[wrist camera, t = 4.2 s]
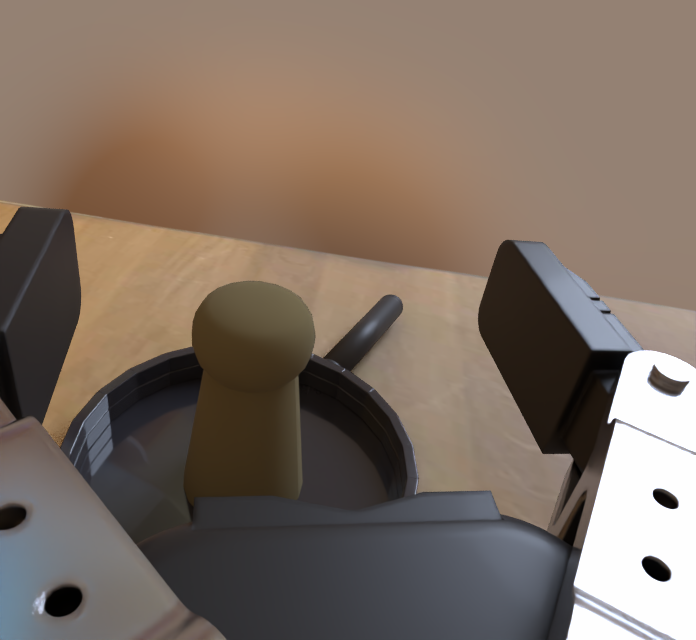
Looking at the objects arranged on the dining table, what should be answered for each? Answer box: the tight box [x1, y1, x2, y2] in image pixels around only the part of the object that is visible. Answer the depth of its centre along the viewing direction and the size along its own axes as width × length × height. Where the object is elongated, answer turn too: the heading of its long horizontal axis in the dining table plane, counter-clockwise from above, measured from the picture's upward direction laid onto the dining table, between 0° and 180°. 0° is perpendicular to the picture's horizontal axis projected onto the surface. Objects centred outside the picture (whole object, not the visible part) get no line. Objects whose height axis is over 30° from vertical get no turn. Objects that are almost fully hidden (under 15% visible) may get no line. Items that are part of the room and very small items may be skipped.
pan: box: [60, 347, 419, 544], centre depth 31 cm, size 17×17×2 cm
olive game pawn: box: [183, 281, 316, 507], centre depth 29 cm, size 6×6×11 cm
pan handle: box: [323, 295, 403, 371], centre depth 41 cm, size 11×2×2 cm, turn 152°
